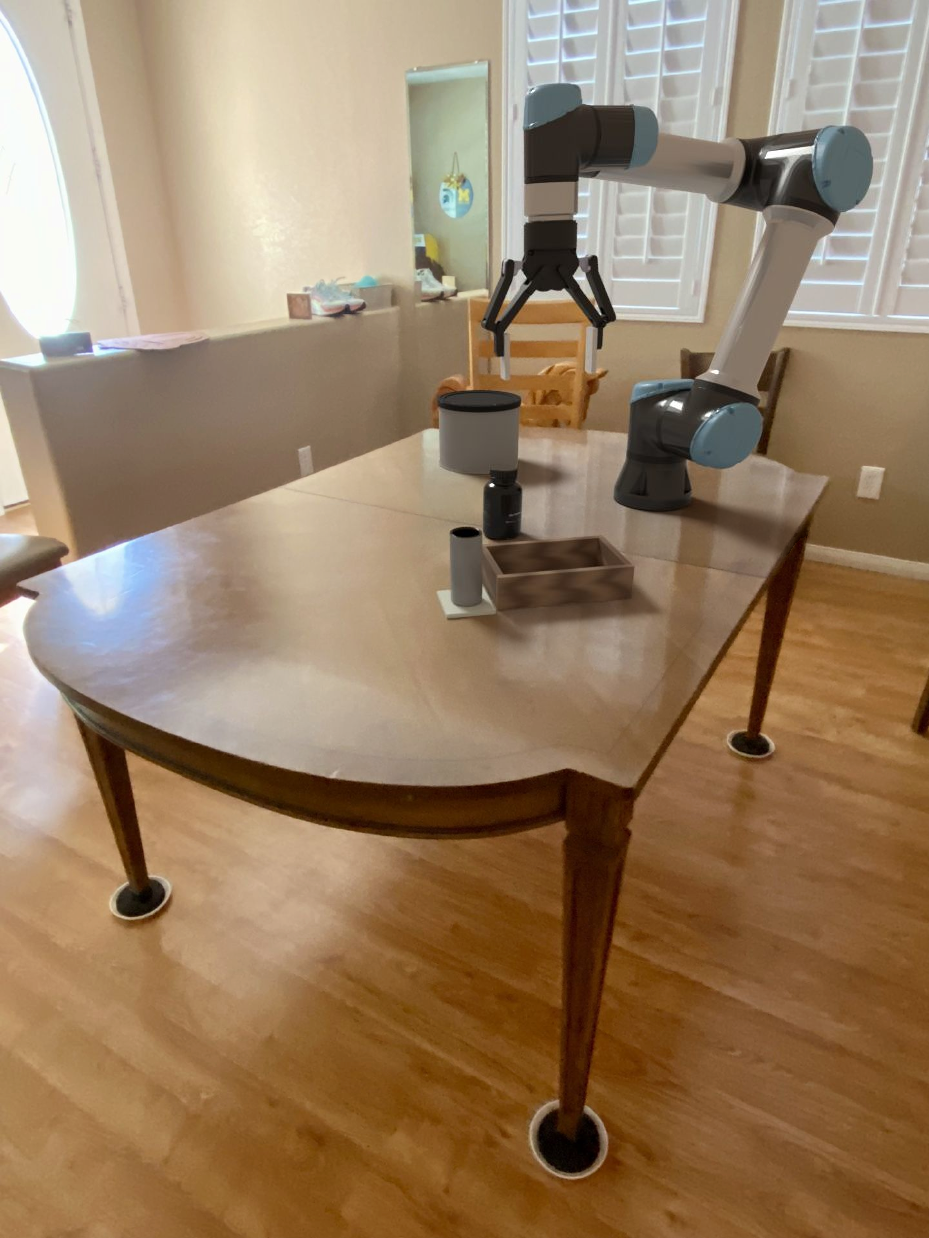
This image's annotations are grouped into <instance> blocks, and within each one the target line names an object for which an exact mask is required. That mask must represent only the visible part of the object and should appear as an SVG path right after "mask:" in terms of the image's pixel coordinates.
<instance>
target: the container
mask: <svg viewBox="0 0 929 1238" xmlns="http://www.w3.org/2000/svg"><path fill="white" fill-rule="evenodd" d="M436 405H437V407H438V432H439V433H438V436H439V437H438V438H439V443H438V444H439V447H438V448H439V460H438V464H439V466H440V467H441V468H443V469H444V470H447V471H449V472H454V473H460V474H468V475H469V474H470V475H487V474H489V473H490V467H491V466H493V465H497V464H508V465H514V466H517V465H518V466H519V463H520V461H519V432H520V431H519V430H520V407H521V406H522V397H521V396H520V395H518V394H515V393H512V392H509V391H502V390H494V389H493V390H491V389H490V390H489V389H488V390H487V389H467V390H457V391H450V392H447V393H446V392H445V393H443V394H440V395H439V396H437V398H436ZM518 466H517V467H518Z"/></svg>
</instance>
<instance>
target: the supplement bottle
mask: <svg viewBox="0 0 929 1238" xmlns="http://www.w3.org/2000/svg"><path fill="white" fill-rule="evenodd" d="M518 471H519V469H518V466H517V467H516V466H514V465H508V464H497V465H493V466H491V467H490V474H489V475H488V477H489V479H490V480H488V481H487V482H486V483H485V484H484V486H483V493H482V494H483V495H482V496H483V497H482V498H483V501H482V534H483V535H484V536H485V537H487V538H490V539H494V540H503V541H504V540H512V539H516V538H517V537H519V536H520V534H521V533H522V530H521V529H522V516H523V513H522V512H523V497H524V496H523V494H524V493H523V490H524V488H523V486H522V484H521V483H520V482H518V481H517V480H518V479H519V475H518V474H519V473H518Z"/></svg>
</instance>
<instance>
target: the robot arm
mask: <svg viewBox="0 0 929 1238" xmlns="http://www.w3.org/2000/svg"><path fill="white" fill-rule="evenodd" d="M582 96H583V95H582V89H581V87H580V86H579V85H577V84H575V83H569V82H556V83H555V82H554V83H544V84H539V85H538V84H537V85H535V86H533V87H531V88H529V90H527V92H526V94H525V96H524V107H523V123H522V124H523V125H522V131H523V178H524V179H523V184H524V185H523V216H525V218H527V221H524V222H525V223H524V224H523V257H522V259H521V260H513V259H511V258H504V259H503V260H502V262H501V268H500V276H499V279H498V282H497V284H496V286H495V289H494V291H493V293H492V296H491V298H490V300H489V303H488V306H487V308H486V310H485V313H484V315H483V317H482V319H481V322H480V327H481V328H483V329H485V330H486V331H490V332H492V334H493V353H494V356H495V357H497V358H500V359H499V360H500V365H499V366H500V379H502V380H504V381H505V382H506V381H511V334H510V333H508V332H506V331H507V329H508V327H510V325H511V323H512V322H513V321H514V319H515V318H516V317H517V315H518V314H519V312H520V311H521V310H522V308H523V307H524V305H525V304H526V303H527V301H528V300H529V299H530V297H531V296H533V294H535V292H536V291H537V292H541V293H542V292H543V293H544V292H549V291H556V292H561V291H563V290H565V291H566V292H567V293H568V294H569V296H570V297H571V298H572V299H573V301H574V302H575V303H576V305H577V306H578V308H580V310H581V312H582V313H583V314H584V316H585V317H586V318H587V320H588V321H589V322H590V324H591V326H589V325H588V326H586V328H585V329H586V331H585V357H584V359H585V361H584V372H586V373H588V374H591V375H592V374H593V375H595V374H597V355H598V350H602V348H603V342H604V328H605V327H606V326H607V325H608V324H610V323H613V322H615V321H617V314H616V312H615V310H614V306H613V304H612V302H611V299H610V297H609V294H608V292H607V289H606V286H605V284H604V281H603V279H602V277H601V274H600V271H599V258H598V256H597V255H596V254H586V255H585V256H582V257H579V256H578V253H577V250H578V249H577V247H578V225H579V224H578V222H577V220H576V219H574V216H577V215H578V213H579V181H580V180H579V178H581V179H594V180H601V181H608V182H615V183H623V184H630V185H638V186H643V187H649V188H650V187H652V188H659V189H665V190H673V191H680V192H686V193H687V192H688V193H693V194H701V195H705V196H706V197H707V199H708V200H709V201H710V202H713V203H717V204H723V205H728V206H733V207H736V208H737V207H738V208H741V209H746V210H750V211H754V212H760V213H761V214H762V217H763V218H764V221H765V223H766V227H765V229H764V232H763V234H762V236H761V239H760V241H759V243H758V246H757V249H756V251H755V254H754V257H753V259H752V261H751V263H750V266H749V269H748V271H747V274H746V277H745V278H744V281H743V283H742V286H741V288H740V290H739V293H738V296H737V298H736V300H735V304H734V306H733V308H732V311H731V313H730V315H729V318H728V320H727V323H726V325H725V328H724V330H723V333H722V335H721V338H720V340H719V342H718V345H717V347H716V350H715V353H714V354H713V355H714V356H713V357H712V360H711V363H710V365H709V367H708V369H707V370H706V372H703V373H702V374H700V375H698V376H696V377H695V379H691V378H673V379H670V378H669V379H653V380H644V381H639V382H637V383H635V385H634V386H633V389H632V393H631V398H630V401H629V415H628V416H629V418H628V430H627V431H628V432H627V443H626V451H625V453H626V454H625V455H626V456H625V460H624V463H623V465H622V467H621V470H620V472H619V475H618V476H617V478H616V482H615V484H614V487H613V499H614V500H615V501H616V502H618V503H619V504H621V505H623V506H626V507H630V508H633V509H638V510H645V511H673V510H680V509H683V508H686V507H688V506H690V504H691V501H692V496H693V489H692V485H691V479H690V473H689V469H688V463H687V461H690V462H692V463H695V464H696V465H699V466H703V467H705V468H712V469H716V470H725V469H731V468H733V467H735V466H736V465H738V464H740V463H742V462H743V461H744V460H746V459H747V458H748V457H749V456H750V455H751V454H752V453H753V451H754V450H755V448H756V447H757V446H758V444H759V441H760V439H761V437H762V433H763V428H764V427H763V424H762V422H763V416H762V414H761V412H760V411H759V410H758V406H759V404H760V403H761V399H762V397H761V395H760V391H759V390H758V384H759V381H760V379H761V376H762V375H763V372H764V369H765V368H766V365H767V362H768V360H769V357H770V355H771V353H772V351H773V348H774V346H775V344H776V341H777V339H778V337H779V334H780V332H781V329H782V327H783V325H784V323H785V321H786V318H787V316H788V313H789V310H791V309H790V308H791V306H792V304H793V302H794V299H795V297H796V294H797V292H798V289H799V287H800V285H801V282H802V280H803V278H804V276H805V273H806V271H807V270H808V269H807V268H808V267H809V264H810V262H811V259H812V257H813V254H814V252H815V250H816V247H817V245H818V242H819V241H820V240H821V239H823V238H824V237H826V236H828V235H830V234H832V233H833V232H834V230H835V227H836V226H837V223H838V221H839V218H840V216H841V213H846V212H849V211H851V210H853V209H854V208H856V206H858V205H859V204H861V203H862V201H863V200H864V199H865V197H866V195H867V193H868V192H869V189H870V186H871V183H872V178H873V173H874V157H873V154H872V146H871V144H870V140H869V139H868V137H867V136H866V135H865V133H864V132H863V131H862V130H861V129H859V128H858V127H856V126H853V125H833V124H832V125H827V126H826V125H825V126H824V127H821V128H815V129H808V130H807V129H806V130H801V131H793V132H785V133H784V132H783V133H778V134H777V133H776V134H771V135H768V136H761V137H754V138H753V137H752V138H738V137H725V138H724V139H722V140H720V141H719V142H718V141H712V140H707V139H699V138H694V137H688V136H682V135H678V134H672V133H671V134H670V133H665V132H660V130H659V129H660V127H659V120H658V118H657V115H656V114H655V112H654V111H653V109H651V107H648V106H640V105H634V103H630V104H627V105H626V104H624V105H623V104H622V105H621V104H616V105H615V104H607V105H606V104H605V105H604V104H603V105H602V104H601V105H600V104H599V105H597V104H596V105H595V104H593V105H591V104H586V103H583V98H582ZM579 267H580V270H581V271H582V273H584V275H585V277H586V281H587V283H588V285H589V287H590V290H591V292H592V295H593V297H594V300H595V302H596V305H597V307H598V309H599V311H598V310H597V309H596V307H595V306H594V304H593V303H592V302H591V300H590V299H589V298H588V296H587V295H586V293H584V291H583V289H582V288H581V286H580V284H579V283H578V281H577V280H576V279H575V277H574V275H575V273H576V272H577V271H578V268H579ZM520 270H521V271H522V273H523V275H524V276H525V279H524V281H523V282H522V284H521V285H520V286H519V289H518V290H517V292H516V294H515V295H514V297H513V298H512V299H511V301H510V302H509V303H508V305H507V307H505V309H504V310H503V312H502V313H501V314H500V315H499V313H500V312H501V309H502V308H503V307H502V306H503V304H504V302H505V299H506V298H507V295H508V292H509V290H510V287H511V286H512V283H513V278H514V277H516V276H518V273H519V271H520ZM599 312H600V313H599ZM498 316H499V317H498ZM497 318H498V319H497Z"/></svg>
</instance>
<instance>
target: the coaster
mask: <svg viewBox="0 0 929 1238" xmlns="http://www.w3.org/2000/svg"><path fill="white" fill-rule="evenodd" d="M436 596H437V598H438V601H439V604H440V605H441V606H440V607H441V608H442V612H443V613H444V616H445V619H454V618H455V619H457V618H466V617H477V616H478V617H479V616H487V615H489V616H490V615H496V613H497V609H496V607H495V605H494V603H493V601H492V599H491V598H490V596H489V594H488V592H487V590H486V588H485V587H484V586H482V601H481V602H480V603H479V604H477V605H473V606H459V605H456V604H454V603H453V602H452V601H451V592H450V589H443V590H436Z"/></svg>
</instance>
